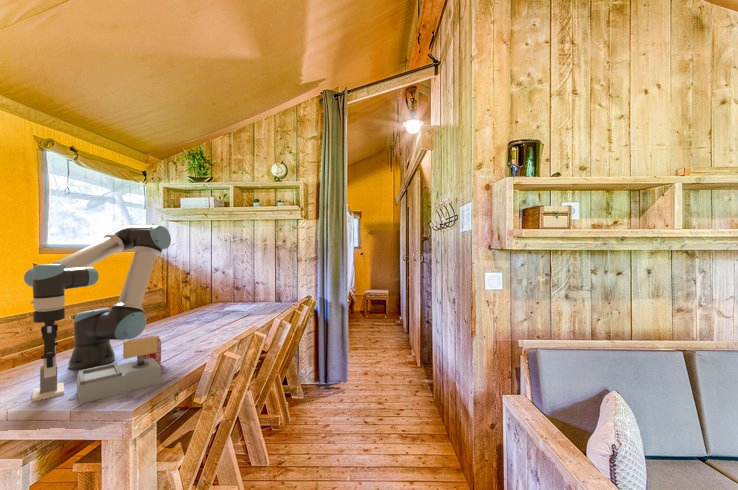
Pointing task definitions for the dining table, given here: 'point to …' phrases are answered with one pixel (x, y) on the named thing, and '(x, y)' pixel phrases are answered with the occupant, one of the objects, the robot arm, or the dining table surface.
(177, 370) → the dining table surface
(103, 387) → the case
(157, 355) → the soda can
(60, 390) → the cover
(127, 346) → the tan sign on stand
